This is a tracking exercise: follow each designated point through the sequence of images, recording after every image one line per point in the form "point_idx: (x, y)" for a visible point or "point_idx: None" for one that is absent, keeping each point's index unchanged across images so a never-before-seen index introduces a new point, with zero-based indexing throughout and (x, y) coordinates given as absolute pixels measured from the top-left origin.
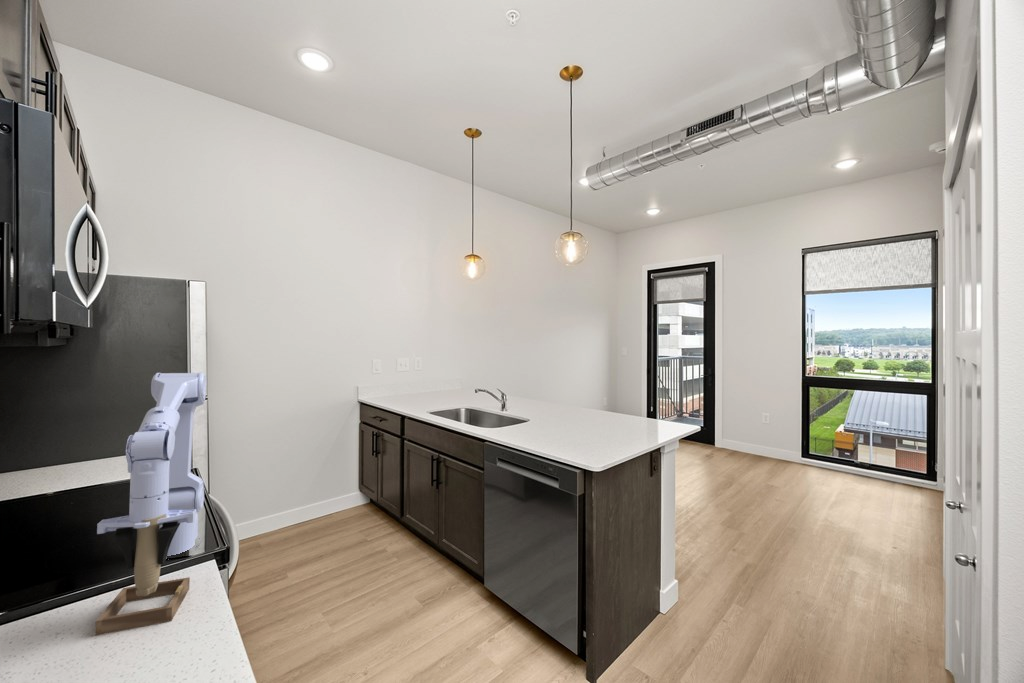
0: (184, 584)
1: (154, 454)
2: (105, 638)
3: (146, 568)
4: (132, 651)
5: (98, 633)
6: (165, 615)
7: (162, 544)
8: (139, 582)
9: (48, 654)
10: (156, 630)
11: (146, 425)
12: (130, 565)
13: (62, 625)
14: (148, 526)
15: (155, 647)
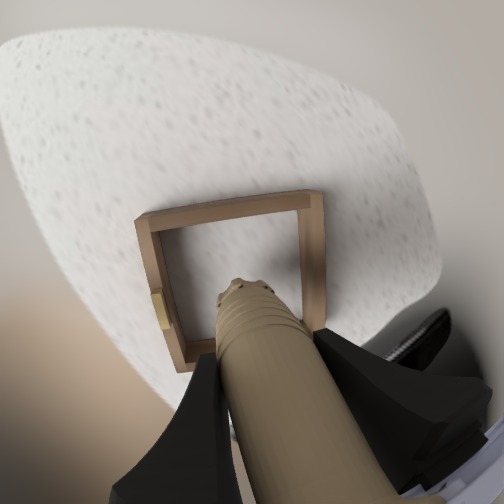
0: (169, 342)
1: None
2: (277, 170)
3: (251, 323)
4: (181, 98)
5: (302, 190)
6: (153, 214)
7: (193, 428)
8: (264, 294)
9: (362, 146)
10: (162, 176)
11: None
12: (326, 335)
13: (384, 252)
14: None
15: (132, 104)
